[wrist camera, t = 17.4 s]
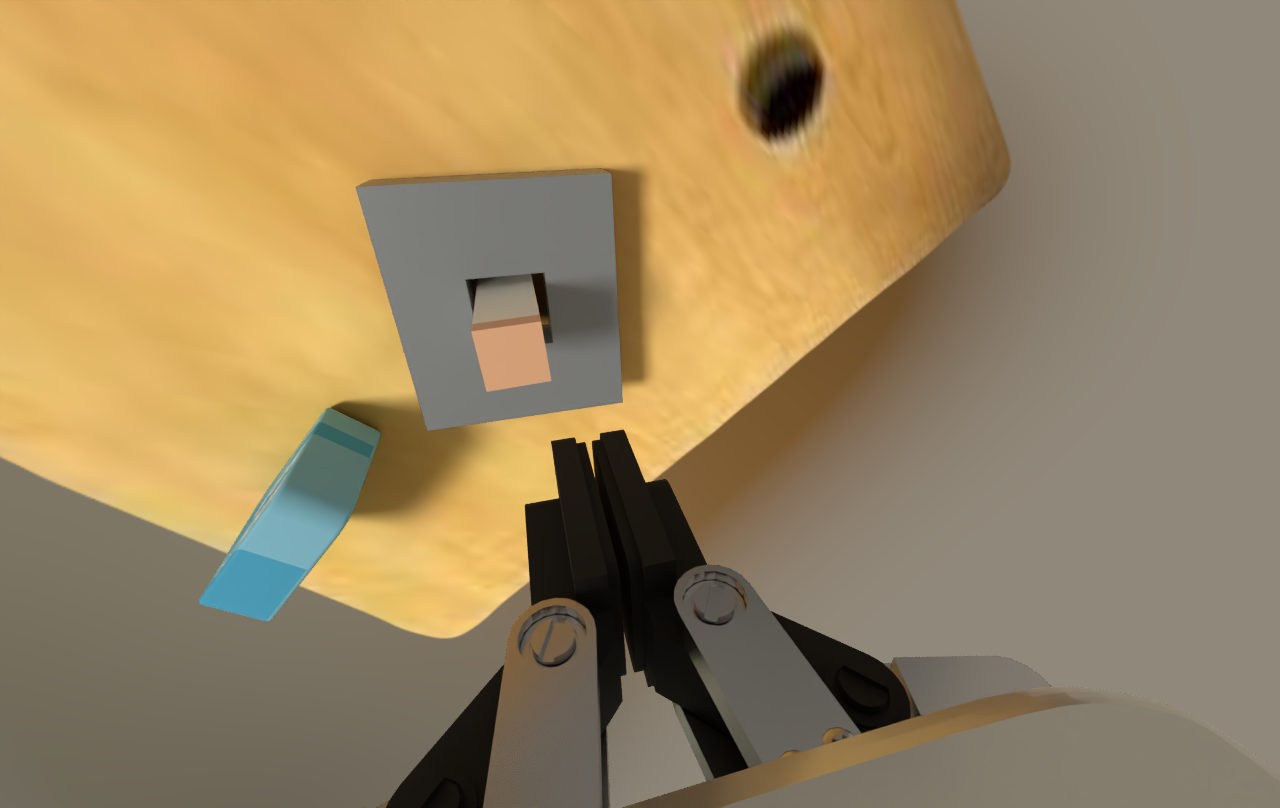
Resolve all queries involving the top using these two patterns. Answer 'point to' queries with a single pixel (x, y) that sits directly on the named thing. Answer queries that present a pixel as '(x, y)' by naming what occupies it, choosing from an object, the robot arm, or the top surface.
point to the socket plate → (492, 247)
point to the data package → (295, 519)
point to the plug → (509, 333)
